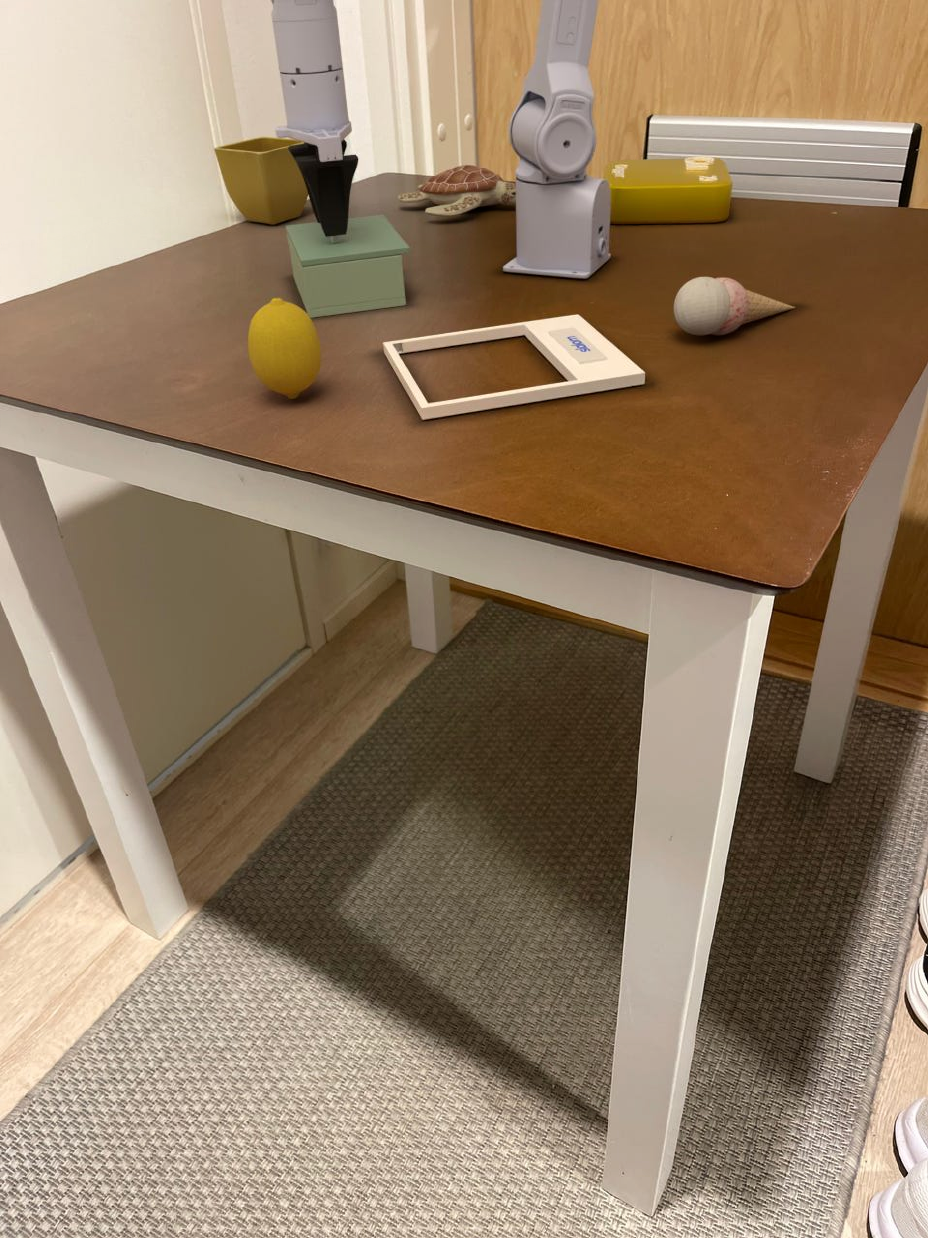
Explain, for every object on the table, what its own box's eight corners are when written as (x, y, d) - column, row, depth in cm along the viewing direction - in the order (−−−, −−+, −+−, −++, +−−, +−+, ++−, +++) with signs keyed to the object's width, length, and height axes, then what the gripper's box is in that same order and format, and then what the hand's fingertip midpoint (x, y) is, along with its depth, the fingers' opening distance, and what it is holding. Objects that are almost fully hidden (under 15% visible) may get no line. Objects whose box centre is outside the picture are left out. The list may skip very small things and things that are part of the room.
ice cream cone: (776, 339, 88) (664, 340, 80) (772, 287, 88) (659, 284, 80) (819, 328, 84) (707, 328, 76) (815, 274, 84) (701, 268, 76)
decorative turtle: (495, 229, 113) (494, 184, 110) (376, 220, 119) (372, 177, 116) (549, 194, 126) (550, 153, 123) (439, 187, 132) (437, 148, 129)
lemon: (314, 414, 72) (298, 311, 68) (247, 411, 73) (227, 309, 69) (336, 385, 77) (323, 286, 72) (273, 383, 78) (255, 285, 73)
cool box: (380, 267, 103) (376, 221, 100) (406, 305, 92) (401, 254, 89) (293, 278, 101) (286, 231, 98) (309, 318, 90) (301, 267, 88)
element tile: (603, 195, 124) (605, 155, 121) (720, 193, 122) (724, 152, 119) (601, 225, 112) (602, 182, 109) (730, 223, 110) (735, 179, 107)
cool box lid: (383, 219, 100) (379, 172, 97) (410, 253, 89) (405, 200, 87) (286, 231, 98) (279, 182, 95) (301, 266, 88) (293, 213, 85)
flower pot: (274, 208, 127) (262, 134, 122) (321, 215, 123) (311, 139, 117) (226, 223, 122) (211, 147, 116) (274, 231, 117) (261, 152, 112)
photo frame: (645, 370, 73) (421, 405, 70) (644, 383, 74) (422, 419, 70) (578, 312, 84) (382, 340, 81) (577, 324, 85) (384, 352, 82)
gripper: (260, 65, 90) (283, 215, 98) (274, 83, 78) (299, 251, 86) (333, 58, 91) (350, 207, 99) (357, 76, 79) (374, 242, 88)
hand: (331, 227), depth 93 cm, fingers closed on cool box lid, 5 cm apart
